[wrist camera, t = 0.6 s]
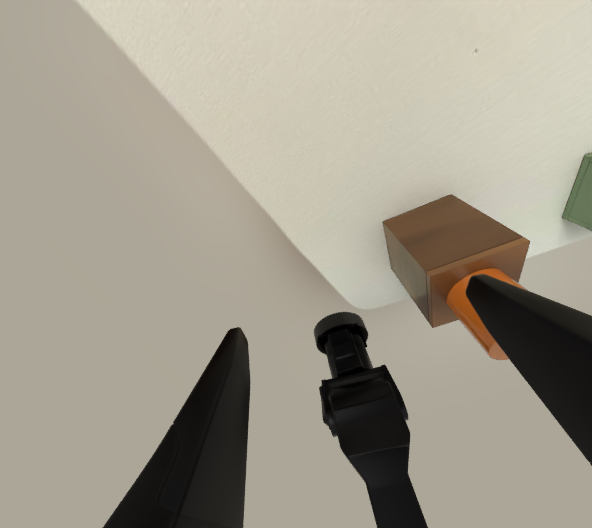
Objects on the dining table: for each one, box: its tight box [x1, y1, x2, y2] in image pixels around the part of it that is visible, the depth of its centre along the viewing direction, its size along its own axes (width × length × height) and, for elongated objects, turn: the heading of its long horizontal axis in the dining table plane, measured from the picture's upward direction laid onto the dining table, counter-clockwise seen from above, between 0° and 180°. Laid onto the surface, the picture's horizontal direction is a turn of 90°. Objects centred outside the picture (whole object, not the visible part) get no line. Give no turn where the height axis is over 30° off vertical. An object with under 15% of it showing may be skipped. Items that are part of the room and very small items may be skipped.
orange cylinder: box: [446, 268, 528, 360], centre depth 15 cm, size 4×4×4 cm
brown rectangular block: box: [383, 194, 530, 328], centre depth 19 cm, size 6×6×8 cm
